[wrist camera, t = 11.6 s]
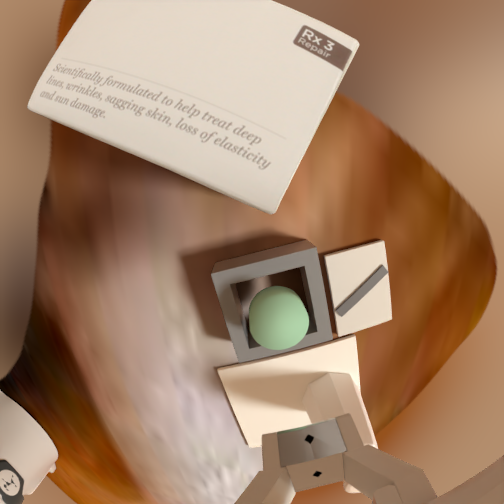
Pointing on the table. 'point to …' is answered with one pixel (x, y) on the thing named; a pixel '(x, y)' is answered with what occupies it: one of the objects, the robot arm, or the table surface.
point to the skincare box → (199, 87)
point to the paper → (283, 385)
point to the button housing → (264, 265)
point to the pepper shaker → (338, 406)
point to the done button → (277, 318)
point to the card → (359, 287)
